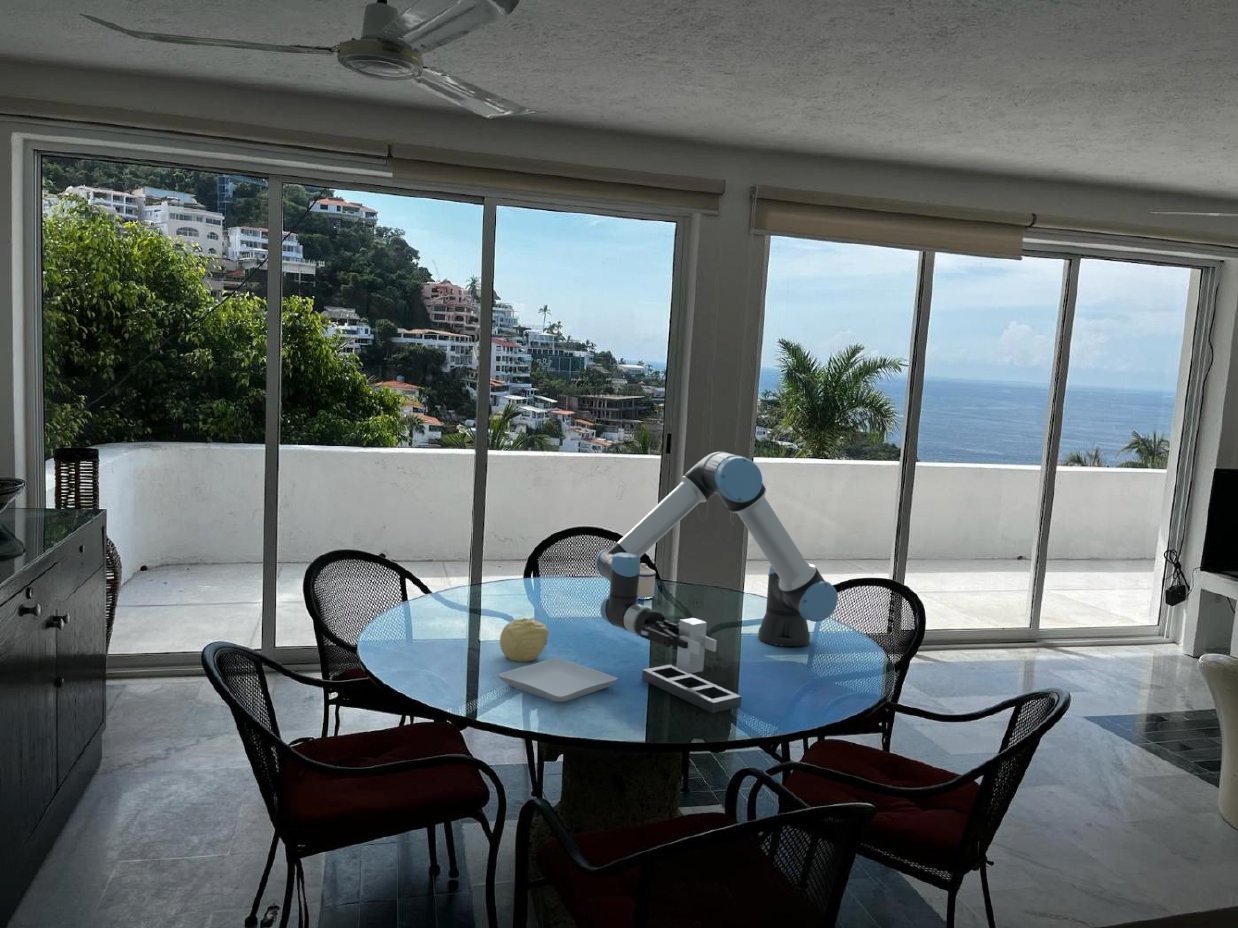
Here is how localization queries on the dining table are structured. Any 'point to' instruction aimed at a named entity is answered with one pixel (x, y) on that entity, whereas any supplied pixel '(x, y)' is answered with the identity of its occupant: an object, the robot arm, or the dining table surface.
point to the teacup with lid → (646, 581)
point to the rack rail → (697, 693)
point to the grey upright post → (695, 632)
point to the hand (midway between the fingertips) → (706, 647)
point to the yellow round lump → (523, 639)
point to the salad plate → (557, 679)
